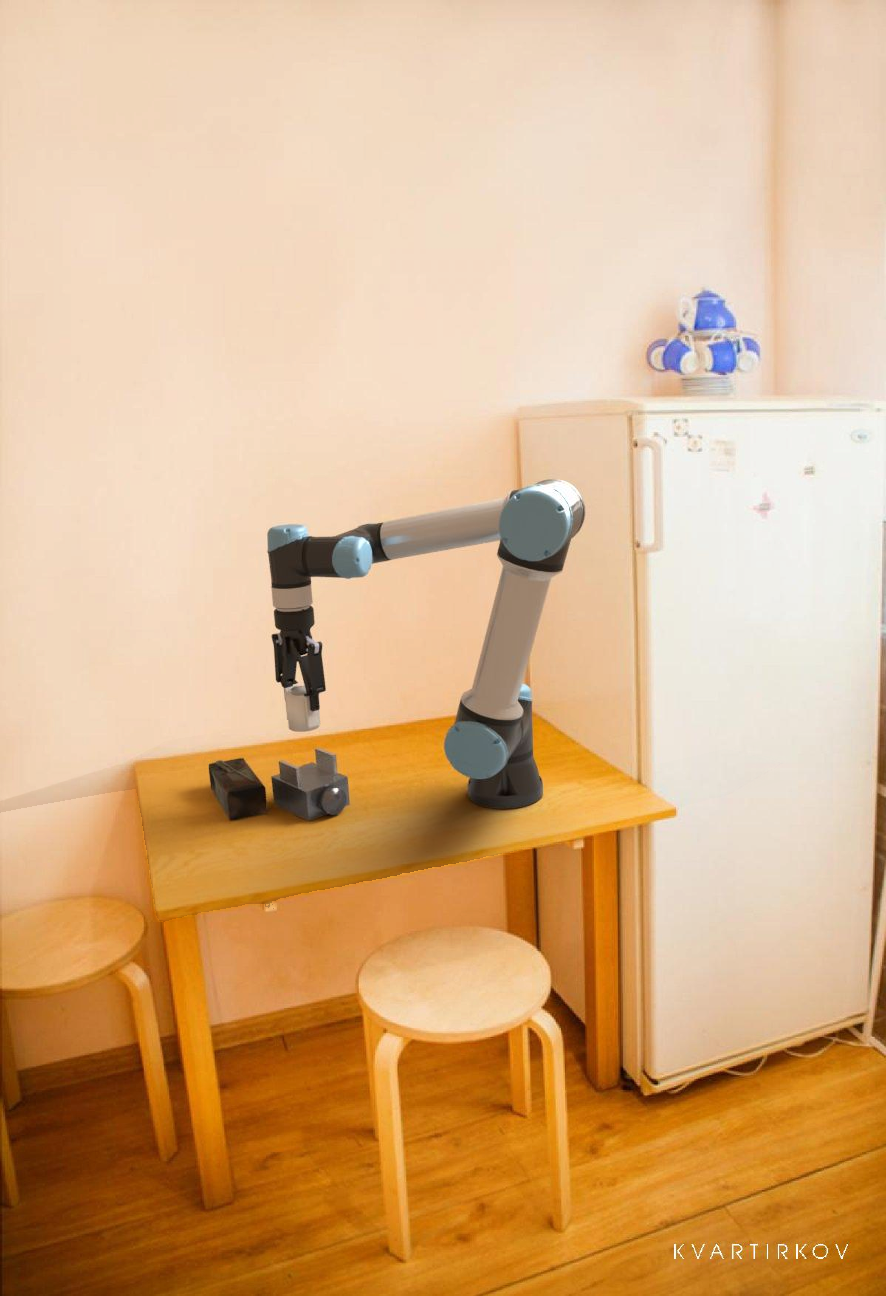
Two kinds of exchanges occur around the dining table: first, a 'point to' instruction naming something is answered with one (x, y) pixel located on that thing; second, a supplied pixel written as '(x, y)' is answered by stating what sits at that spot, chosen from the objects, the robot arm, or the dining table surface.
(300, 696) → the white cylindrical container
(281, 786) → the motor
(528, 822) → the dining table surface
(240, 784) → the beverage carton
